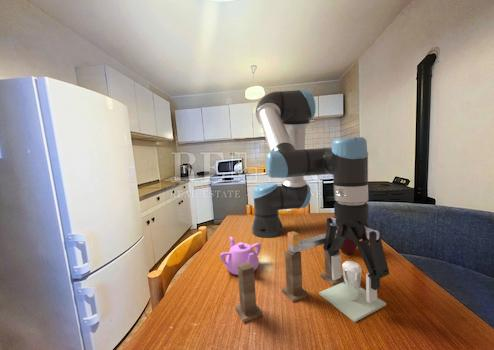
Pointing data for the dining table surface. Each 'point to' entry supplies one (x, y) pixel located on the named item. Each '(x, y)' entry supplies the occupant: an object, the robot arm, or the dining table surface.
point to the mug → (348, 246)
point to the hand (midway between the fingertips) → (352, 288)
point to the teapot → (240, 256)
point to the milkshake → (351, 279)
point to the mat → (351, 302)
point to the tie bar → (303, 242)
